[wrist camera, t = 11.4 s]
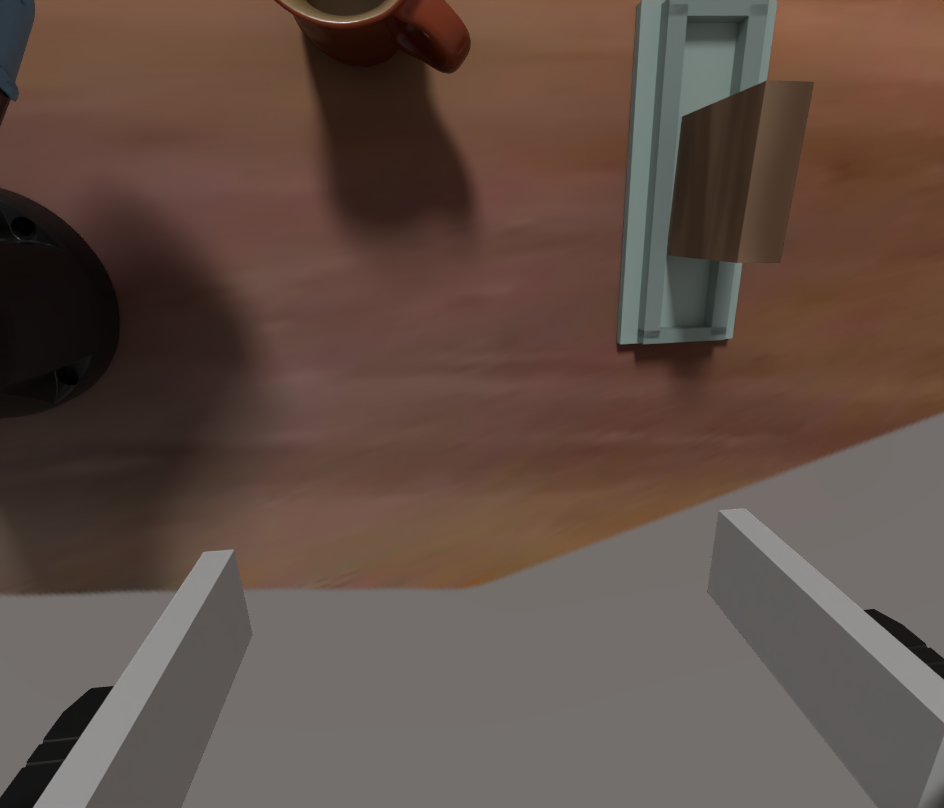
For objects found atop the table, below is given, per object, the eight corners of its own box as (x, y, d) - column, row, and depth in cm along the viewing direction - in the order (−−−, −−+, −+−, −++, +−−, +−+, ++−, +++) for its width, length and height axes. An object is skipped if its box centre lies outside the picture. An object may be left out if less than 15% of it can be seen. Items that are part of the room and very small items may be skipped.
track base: (616, 342, 40) (626, 347, 38) (636, 5, 33) (649, -8, 31) (726, 336, 41) (741, 341, 39) (769, 5, 34) (790, -8, 32)
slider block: (665, 255, 38) (736, 262, 29) (681, 116, 35) (766, 80, 26) (699, 255, 38) (780, 262, 29) (718, 117, 35) (813, 81, 27)
